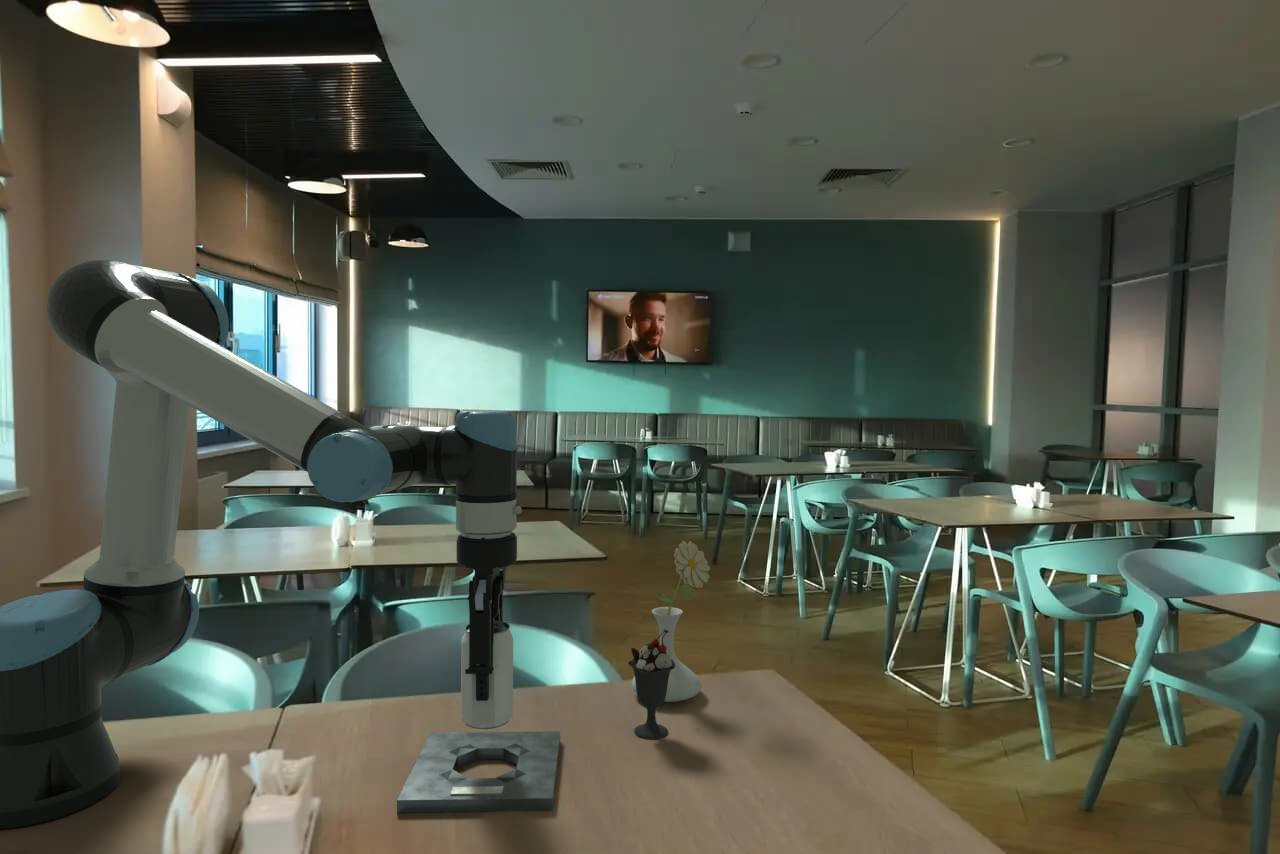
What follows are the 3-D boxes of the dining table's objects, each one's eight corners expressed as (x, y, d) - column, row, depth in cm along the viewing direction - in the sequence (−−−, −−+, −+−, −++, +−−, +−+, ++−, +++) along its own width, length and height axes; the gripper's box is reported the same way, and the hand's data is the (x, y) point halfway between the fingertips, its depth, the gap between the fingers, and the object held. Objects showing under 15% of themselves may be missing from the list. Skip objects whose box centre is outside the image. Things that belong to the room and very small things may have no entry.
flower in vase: (651, 714, 120) (654, 552, 119) (619, 688, 130) (620, 538, 129) (723, 699, 126) (726, 545, 125) (686, 676, 136) (689, 533, 135)
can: (518, 710, 103) (518, 620, 103) (505, 731, 97) (505, 636, 96) (470, 707, 104) (470, 618, 103) (454, 728, 97) (454, 633, 97)
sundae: (683, 734, 113) (685, 631, 112) (645, 746, 109) (646, 639, 109) (657, 718, 119) (658, 620, 118) (619, 728, 115) (620, 627, 114)
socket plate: (396, 812, 91) (396, 798, 91) (430, 742, 109) (430, 731, 109) (552, 810, 92) (552, 796, 92) (560, 741, 110) (560, 729, 110)
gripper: (507, 547, 90) (508, 745, 91) (524, 520, 109) (524, 684, 110) (441, 547, 90) (442, 746, 91) (469, 520, 109) (469, 685, 110)
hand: (487, 712), depth 100 cm, fingers closed on can, 6 cm apart
